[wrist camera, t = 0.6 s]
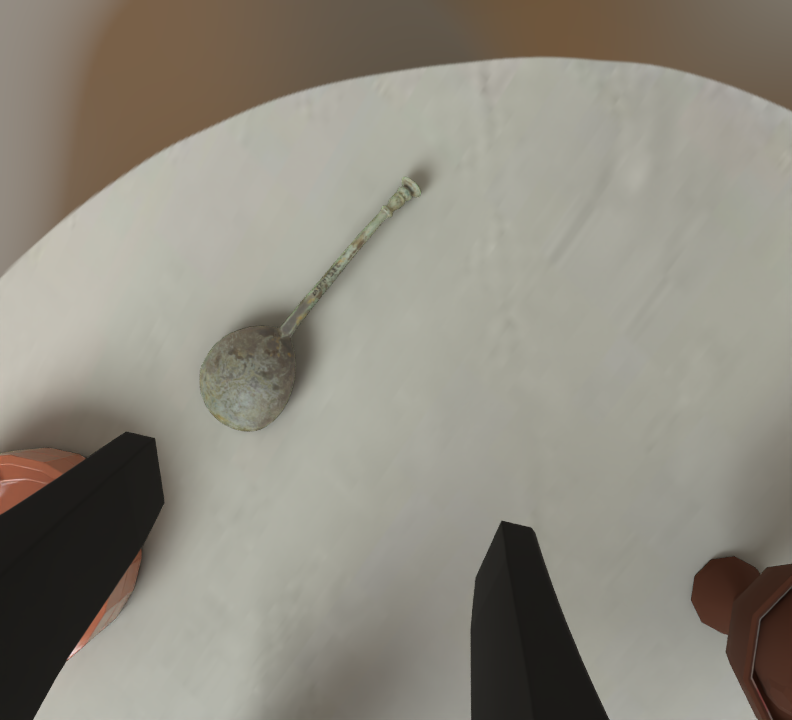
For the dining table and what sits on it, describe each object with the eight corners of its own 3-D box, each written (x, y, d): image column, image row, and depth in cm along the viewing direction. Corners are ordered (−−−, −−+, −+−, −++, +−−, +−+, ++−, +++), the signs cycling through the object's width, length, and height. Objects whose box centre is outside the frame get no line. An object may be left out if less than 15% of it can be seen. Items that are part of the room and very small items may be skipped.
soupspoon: (185, 388, 38) (255, 445, 39) (167, 391, 35) (243, 454, 35) (380, 160, 39) (447, 218, 39) (380, 141, 35) (454, 205, 36)
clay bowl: (72, 690, 37) (32, 730, 32) (-102, 586, 37) (-165, 612, 32) (181, 512, 37) (156, 529, 33) (10, 410, 37) (-37, 413, 33)
